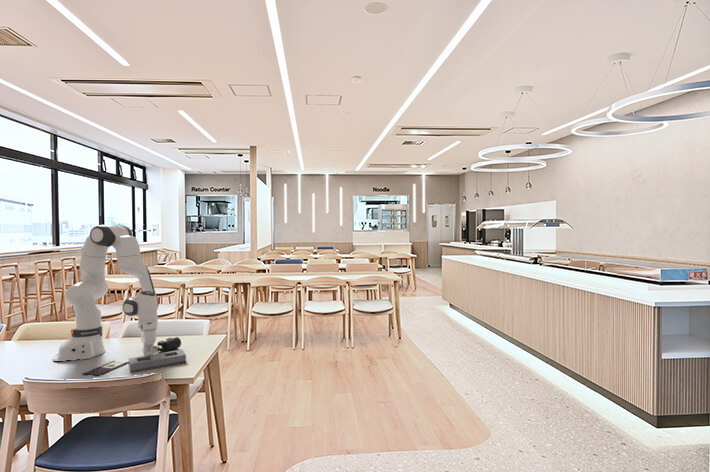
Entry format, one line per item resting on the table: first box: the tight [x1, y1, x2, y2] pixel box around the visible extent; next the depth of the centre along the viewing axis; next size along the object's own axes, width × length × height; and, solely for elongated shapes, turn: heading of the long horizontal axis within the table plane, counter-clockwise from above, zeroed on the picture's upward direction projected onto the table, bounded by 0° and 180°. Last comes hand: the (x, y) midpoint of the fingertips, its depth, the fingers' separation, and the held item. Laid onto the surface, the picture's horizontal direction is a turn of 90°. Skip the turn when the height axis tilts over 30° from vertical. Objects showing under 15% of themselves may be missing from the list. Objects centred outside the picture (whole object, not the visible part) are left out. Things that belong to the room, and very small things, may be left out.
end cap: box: [157, 336, 182, 354], centre depth 213 cm, size 10×7×7 cm
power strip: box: [128, 349, 187, 374], centre depth 193 cm, size 24×10×4 cm, turn 124°
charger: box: [142, 341, 154, 356], centre depth 203 cm, size 4×4×7 cm
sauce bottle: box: [140, 329, 158, 344], centre depth 223 cm, size 8×8×18 cm
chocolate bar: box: [82, 360, 129, 377], centre depth 188 cm, size 9×1×18 cm
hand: (148, 349), depth 203 cm, fingers closed on charger, 4 cm apart
